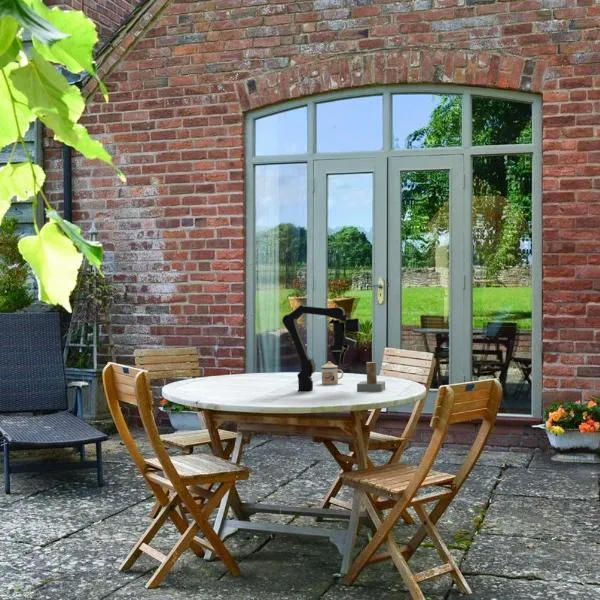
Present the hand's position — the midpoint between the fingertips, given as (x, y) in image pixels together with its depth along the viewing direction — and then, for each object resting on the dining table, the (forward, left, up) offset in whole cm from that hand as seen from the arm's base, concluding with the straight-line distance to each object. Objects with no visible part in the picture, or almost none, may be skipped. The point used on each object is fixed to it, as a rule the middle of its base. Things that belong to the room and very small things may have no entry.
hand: (340, 364), depth 417 cm
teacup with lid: (-10, +30, -13) cm, 34 cm away
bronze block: (+15, +2, -10) cm, 18 cm away
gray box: (+15, +2, -14) cm, 20 cm away
